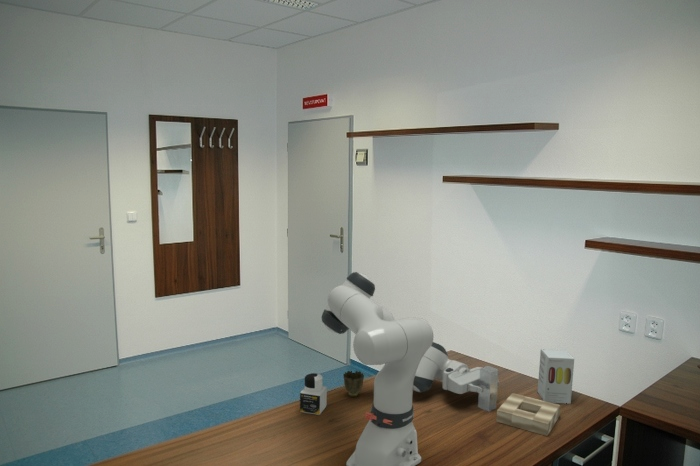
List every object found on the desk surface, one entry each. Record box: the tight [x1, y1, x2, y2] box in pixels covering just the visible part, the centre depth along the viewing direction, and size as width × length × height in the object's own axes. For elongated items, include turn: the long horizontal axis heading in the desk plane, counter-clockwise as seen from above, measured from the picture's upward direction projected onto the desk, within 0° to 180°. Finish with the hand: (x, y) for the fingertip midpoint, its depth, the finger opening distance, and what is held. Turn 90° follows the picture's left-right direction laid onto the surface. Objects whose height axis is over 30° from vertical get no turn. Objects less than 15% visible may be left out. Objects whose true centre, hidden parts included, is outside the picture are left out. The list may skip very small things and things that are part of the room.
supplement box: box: [537, 348, 575, 405], centre depth 189 cm, size 10×9×17 cm
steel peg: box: [477, 365, 499, 413], centre depth 181 cm, size 4×4×14 cm
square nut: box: [496, 392, 561, 437], centre depth 174 cm, size 16×16×4 cm
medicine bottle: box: [299, 372, 328, 416], centre depth 178 cm, size 7×7×12 cm
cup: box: [343, 370, 365, 398], centre depth 189 cm, size 8×7×8 cm
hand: (490, 387), depth 180 cm, fingers open, 8 cm apart
